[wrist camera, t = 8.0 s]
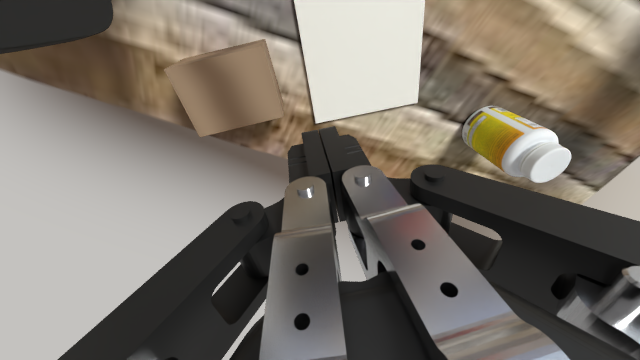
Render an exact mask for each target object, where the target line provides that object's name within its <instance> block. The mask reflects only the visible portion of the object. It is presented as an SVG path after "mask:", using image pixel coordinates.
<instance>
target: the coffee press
mask: <svg viewBox="0 0 640 360" xmlns="http://www.w3.org/2000/svg"><path fill="white" fill-rule="evenodd" d="M112 19H113V8H112V3H111V0H0V54H3V53H9V52H15V51H21V50H27V49H33V48H39V47H44V46H50V45H55V44H61V43H66V42H71V41H75V40H79V39H82V38H86V37H89V36H92V35H95V34H98V33H101V32H103V31H105V30H106V29H107V28H108V27H109V26H110V25H111V22H112Z"/></svg>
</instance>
